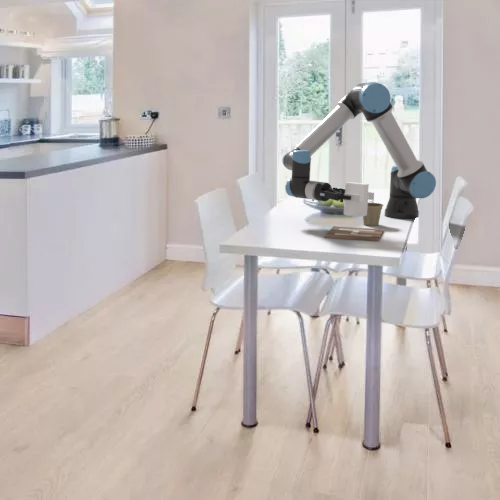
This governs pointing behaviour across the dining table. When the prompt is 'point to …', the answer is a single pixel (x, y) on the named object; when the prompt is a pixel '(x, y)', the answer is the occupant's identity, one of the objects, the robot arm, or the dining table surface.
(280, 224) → the dining table surface
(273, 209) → the dining table surface
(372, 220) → the flower pot
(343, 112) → the robot arm
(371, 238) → the letter board
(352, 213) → the base with upright slab
